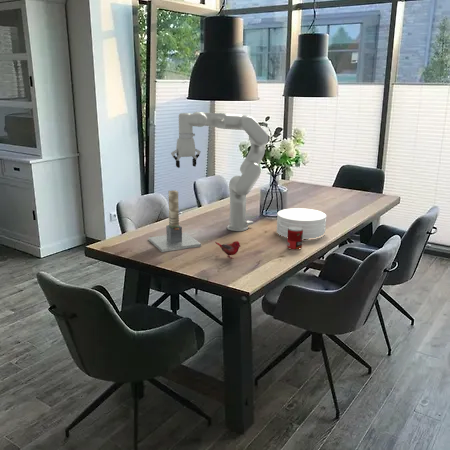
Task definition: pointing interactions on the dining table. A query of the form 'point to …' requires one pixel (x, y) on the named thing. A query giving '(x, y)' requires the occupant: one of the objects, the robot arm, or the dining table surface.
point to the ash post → (173, 209)
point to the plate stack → (301, 221)
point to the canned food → (295, 237)
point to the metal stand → (174, 240)
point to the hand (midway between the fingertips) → (186, 166)
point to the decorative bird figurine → (230, 248)
